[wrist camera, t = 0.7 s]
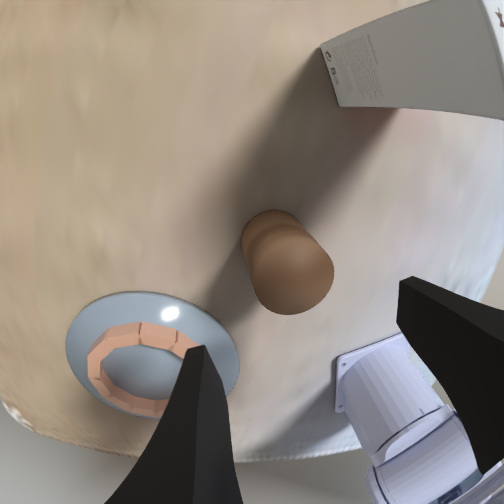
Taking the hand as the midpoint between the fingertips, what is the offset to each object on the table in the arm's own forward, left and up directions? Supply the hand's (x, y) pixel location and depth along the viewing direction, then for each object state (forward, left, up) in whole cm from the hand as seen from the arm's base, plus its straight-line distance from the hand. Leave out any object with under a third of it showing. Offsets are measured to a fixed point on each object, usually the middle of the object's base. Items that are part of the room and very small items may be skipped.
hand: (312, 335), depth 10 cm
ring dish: (-9, +10, -10) cm, 16 cm away
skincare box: (+9, -9, -10) cm, 16 cm away
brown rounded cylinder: (-1, -1, -10) cm, 10 cm away
